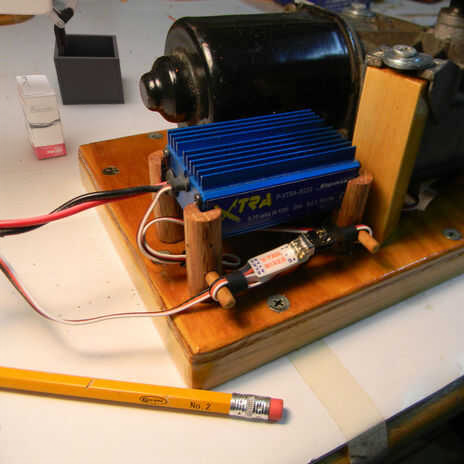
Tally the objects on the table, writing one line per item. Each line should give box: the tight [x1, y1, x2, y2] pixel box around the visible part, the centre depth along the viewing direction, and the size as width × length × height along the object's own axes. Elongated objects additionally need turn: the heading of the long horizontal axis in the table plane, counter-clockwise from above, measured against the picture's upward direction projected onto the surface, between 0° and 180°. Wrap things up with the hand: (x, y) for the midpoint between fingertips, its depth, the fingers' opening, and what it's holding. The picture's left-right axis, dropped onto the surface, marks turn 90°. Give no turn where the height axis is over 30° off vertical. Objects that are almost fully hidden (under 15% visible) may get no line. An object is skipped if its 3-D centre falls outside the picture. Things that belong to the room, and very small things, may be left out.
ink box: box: [14, 74, 67, 160], centre depth 82 cm, size 9×5×12 cm, turn 34°
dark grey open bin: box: [53, 33, 125, 105], centre depth 102 cm, size 12×14×10 cm
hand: (28, 50), depth 75 cm, fingers open, 9 cm apart
